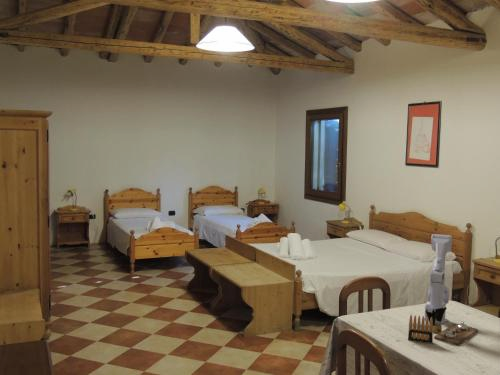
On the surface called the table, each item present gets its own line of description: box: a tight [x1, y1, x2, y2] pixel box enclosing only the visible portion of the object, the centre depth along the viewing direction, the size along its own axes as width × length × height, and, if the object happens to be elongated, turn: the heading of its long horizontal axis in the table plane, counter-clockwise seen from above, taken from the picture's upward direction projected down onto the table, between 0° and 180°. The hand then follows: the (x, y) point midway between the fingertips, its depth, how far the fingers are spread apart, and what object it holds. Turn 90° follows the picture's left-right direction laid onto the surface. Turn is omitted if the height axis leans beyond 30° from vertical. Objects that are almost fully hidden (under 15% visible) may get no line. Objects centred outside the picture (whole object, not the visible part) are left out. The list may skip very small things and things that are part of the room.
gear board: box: [433, 322, 479, 346], centre depth 240 cm, size 11×24×1 cm, turn 136°
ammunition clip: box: [407, 314, 434, 344], centre depth 232 cm, size 11×2×12 cm, turn 71°
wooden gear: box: [429, 322, 443, 334], centre depth 245 cm, size 6×6×3 cm
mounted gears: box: [444, 321, 470, 339], centre depth 239 cm, size 6×20×3 cm, turn 136°
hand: (435, 323), depth 244 cm, fingers open, 7 cm apart
